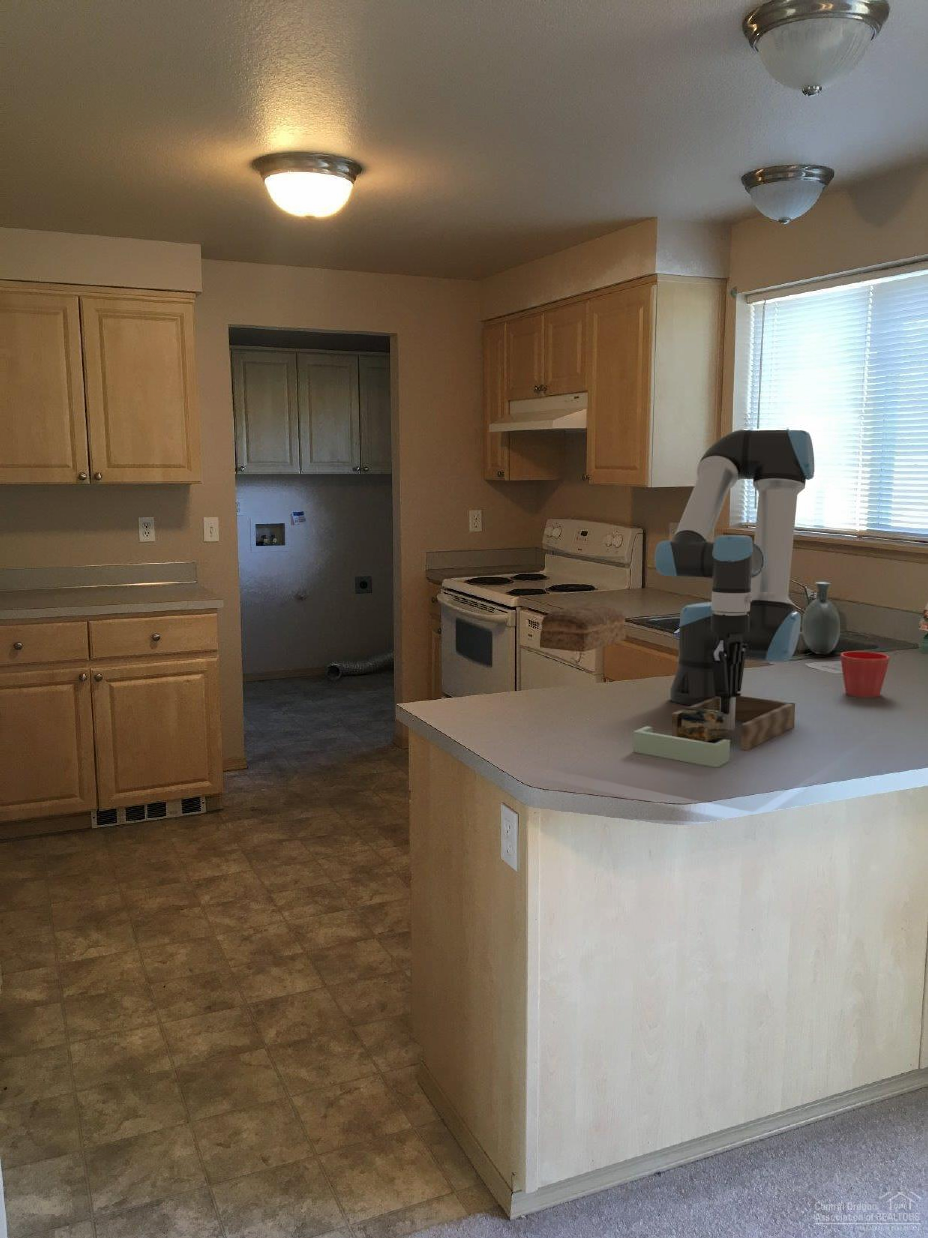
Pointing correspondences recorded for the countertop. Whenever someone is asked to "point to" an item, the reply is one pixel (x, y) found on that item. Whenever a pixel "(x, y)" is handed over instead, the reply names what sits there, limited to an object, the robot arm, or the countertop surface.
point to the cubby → (751, 718)
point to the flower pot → (864, 672)
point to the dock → (681, 748)
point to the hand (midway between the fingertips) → (726, 728)
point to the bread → (582, 627)
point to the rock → (701, 724)
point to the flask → (821, 623)
